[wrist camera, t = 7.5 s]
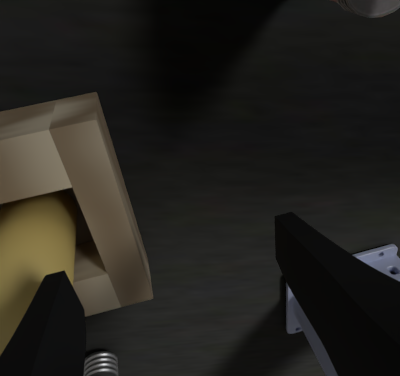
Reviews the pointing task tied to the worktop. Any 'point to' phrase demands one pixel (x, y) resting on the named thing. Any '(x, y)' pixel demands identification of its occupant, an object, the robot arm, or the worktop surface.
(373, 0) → the lighter
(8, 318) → the dowel
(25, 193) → the socket block
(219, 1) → the worktop surface
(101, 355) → the lightbulb
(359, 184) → the worktop surface
